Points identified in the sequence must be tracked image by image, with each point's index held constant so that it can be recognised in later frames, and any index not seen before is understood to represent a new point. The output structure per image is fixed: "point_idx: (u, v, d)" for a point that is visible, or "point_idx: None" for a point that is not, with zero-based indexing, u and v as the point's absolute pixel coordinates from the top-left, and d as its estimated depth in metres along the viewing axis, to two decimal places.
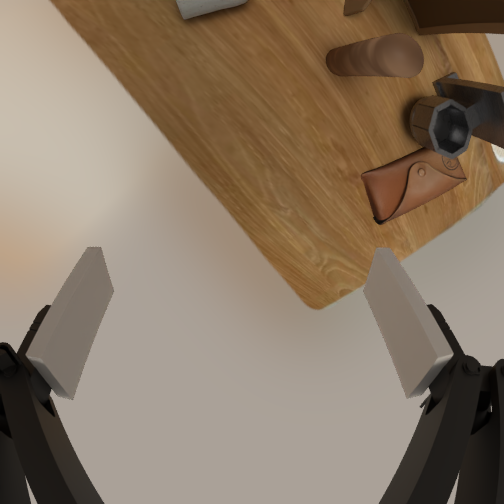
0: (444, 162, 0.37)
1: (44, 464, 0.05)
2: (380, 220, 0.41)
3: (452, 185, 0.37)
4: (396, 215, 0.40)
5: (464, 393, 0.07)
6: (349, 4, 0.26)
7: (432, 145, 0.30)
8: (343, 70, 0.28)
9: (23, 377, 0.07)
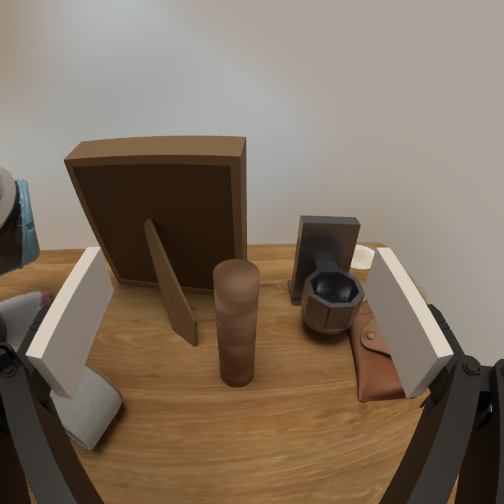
0: (366, 312, 0.41)
1: (44, 464, 0.05)
2: None
3: None
4: None
5: (464, 393, 0.07)
6: (187, 334, 0.38)
7: (346, 308, 0.34)
8: (241, 365, 0.31)
9: (23, 377, 0.07)
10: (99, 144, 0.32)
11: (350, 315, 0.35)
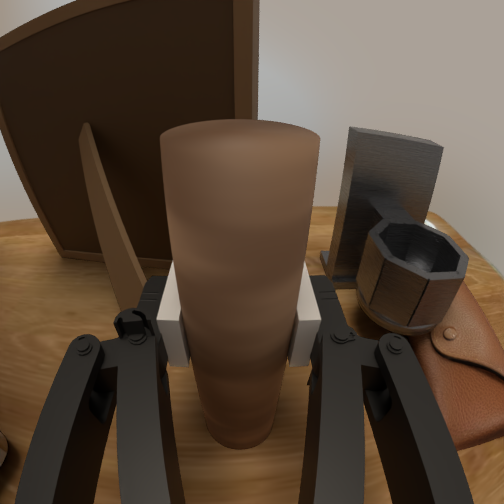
0: None
1: (146, 447, 0.06)
2: None
3: (466, 286, 0.22)
4: None
5: (341, 365, 0.08)
6: None
7: (453, 282, 0.15)
8: (251, 418, 0.12)
9: (152, 350, 0.08)
10: None
11: (453, 296, 0.16)
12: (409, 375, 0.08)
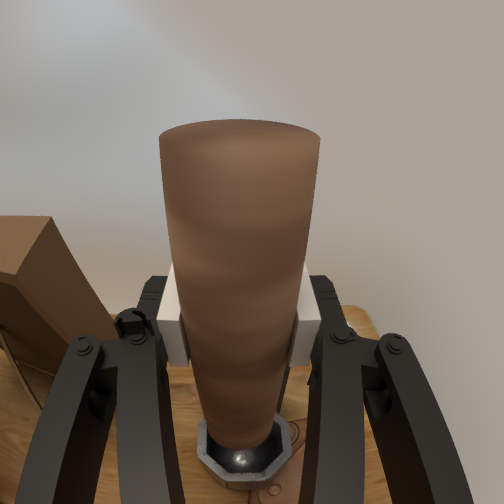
0: None
1: (146, 447, 0.06)
2: None
3: None
4: None
5: (341, 365, 0.08)
6: None
7: (254, 481, 0.18)
8: (251, 419, 0.12)
9: (152, 350, 0.08)
10: None
11: (264, 483, 0.18)
12: (409, 375, 0.08)
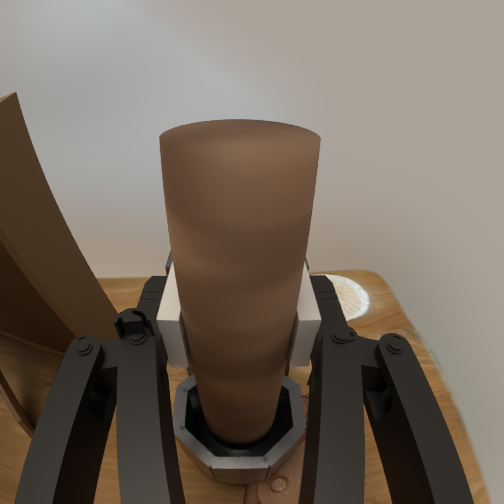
0: None
1: (146, 447, 0.06)
2: None
3: None
4: None
5: (341, 365, 0.08)
6: None
7: (252, 469, 0.12)
8: (251, 419, 0.12)
9: (152, 350, 0.08)
10: None
11: (266, 473, 0.13)
12: (409, 375, 0.08)
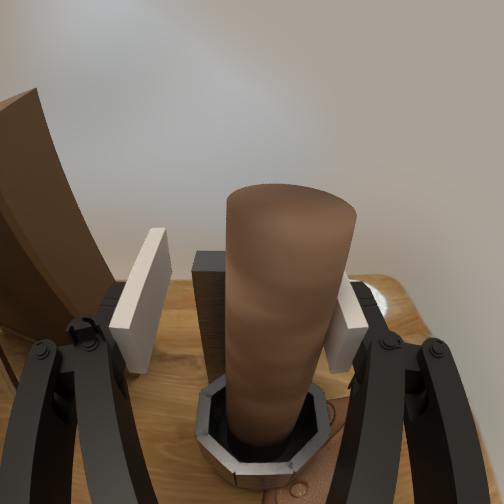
0: None
1: (108, 449, 0.06)
2: None
3: None
4: None
5: (386, 371, 0.08)
6: None
7: (276, 475, 0.12)
8: (275, 435, 0.13)
9: (104, 355, 0.08)
10: None
11: (289, 478, 0.13)
12: (447, 378, 0.07)
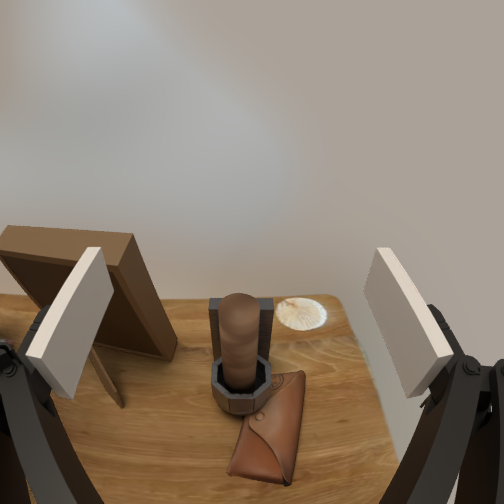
0: None
1: (44, 464, 0.05)
2: (283, 480, 0.28)
3: (296, 389, 0.38)
4: (286, 461, 0.30)
5: (464, 393, 0.07)
6: (114, 397, 0.37)
7: (247, 400, 0.32)
8: (244, 384, 0.33)
9: (23, 377, 0.07)
10: (18, 233, 0.30)
11: (253, 404, 0.33)
12: None
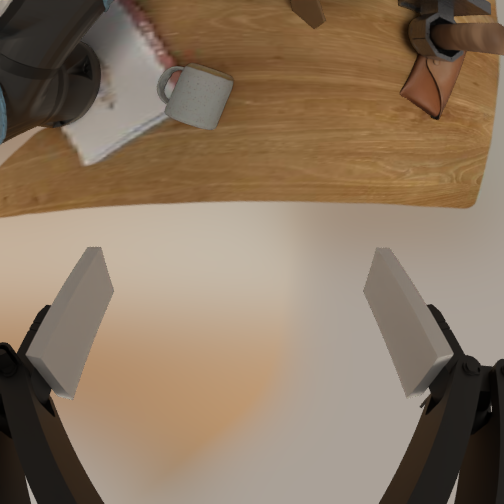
0: None
1: (44, 464, 0.05)
2: (436, 116, 0.39)
3: None
4: (444, 105, 0.37)
5: (464, 393, 0.07)
6: (309, 20, 0.32)
7: (446, 60, 0.29)
8: (449, 49, 0.27)
9: (23, 377, 0.07)
10: None
11: (445, 61, 0.30)
12: None
